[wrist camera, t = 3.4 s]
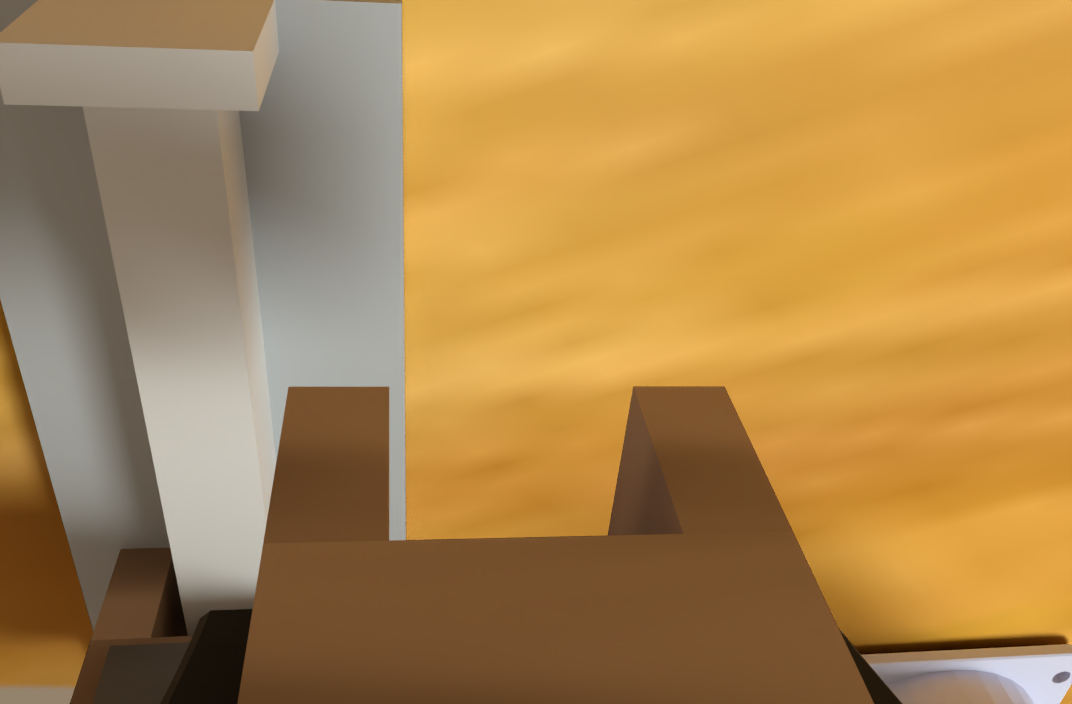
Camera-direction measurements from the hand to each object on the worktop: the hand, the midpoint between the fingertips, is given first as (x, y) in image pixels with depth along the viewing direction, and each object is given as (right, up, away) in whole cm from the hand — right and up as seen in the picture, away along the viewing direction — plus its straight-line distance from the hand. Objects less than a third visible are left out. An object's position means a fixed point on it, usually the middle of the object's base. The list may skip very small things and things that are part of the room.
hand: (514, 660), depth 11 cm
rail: (-6, +2, +9) cm, 11 cm away
